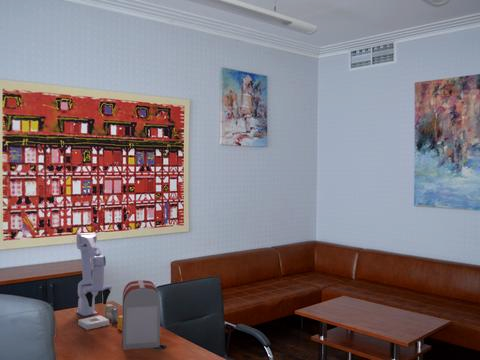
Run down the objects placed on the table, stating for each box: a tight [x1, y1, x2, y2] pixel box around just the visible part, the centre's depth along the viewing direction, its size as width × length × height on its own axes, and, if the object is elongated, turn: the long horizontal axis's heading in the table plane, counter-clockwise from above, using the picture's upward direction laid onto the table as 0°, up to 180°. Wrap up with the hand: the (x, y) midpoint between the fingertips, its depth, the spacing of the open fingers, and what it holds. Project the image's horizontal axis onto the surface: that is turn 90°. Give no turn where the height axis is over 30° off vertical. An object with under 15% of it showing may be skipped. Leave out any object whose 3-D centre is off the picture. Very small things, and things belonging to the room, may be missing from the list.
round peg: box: [110, 307, 119, 324], centre depth 247 cm, size 3×3×7 cm
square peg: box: [104, 303, 114, 320], centre depth 254 cm, size 3×3×7 cm
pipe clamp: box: [117, 315, 122, 331], centre depth 236 cm, size 12×4×6 cm, turn 64°
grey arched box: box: [121, 279, 161, 351], centre depth 221 cm, size 17×18×27 cm
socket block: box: [77, 315, 110, 331], centre depth 243 cm, size 10×12×2 cm
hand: (97, 305), depth 245 cm, fingers open, 7 cm apart
